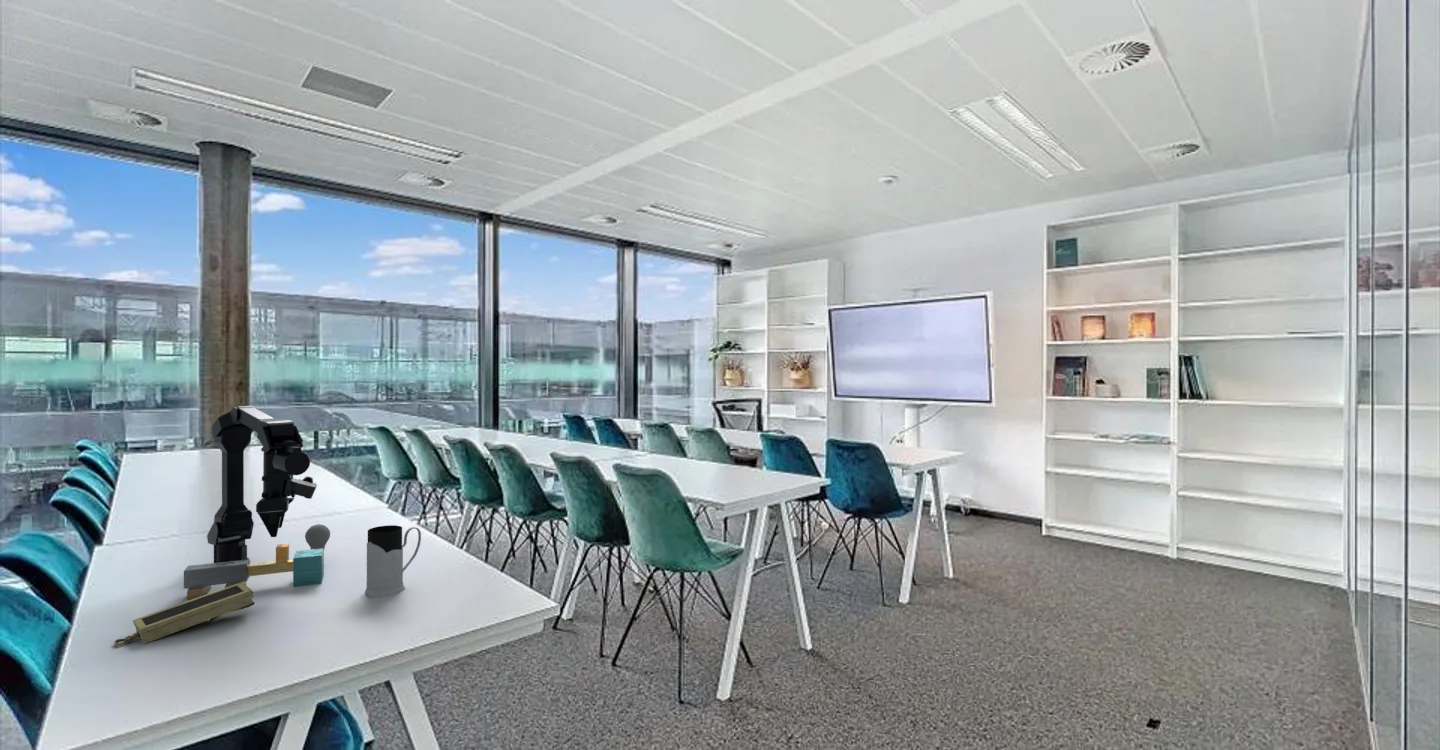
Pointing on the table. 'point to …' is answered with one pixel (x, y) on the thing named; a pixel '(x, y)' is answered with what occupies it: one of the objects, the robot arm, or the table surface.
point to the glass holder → (386, 560)
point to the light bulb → (317, 536)
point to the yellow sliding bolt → (273, 563)
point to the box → (190, 613)
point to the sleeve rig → (233, 572)
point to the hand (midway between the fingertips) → (276, 532)
